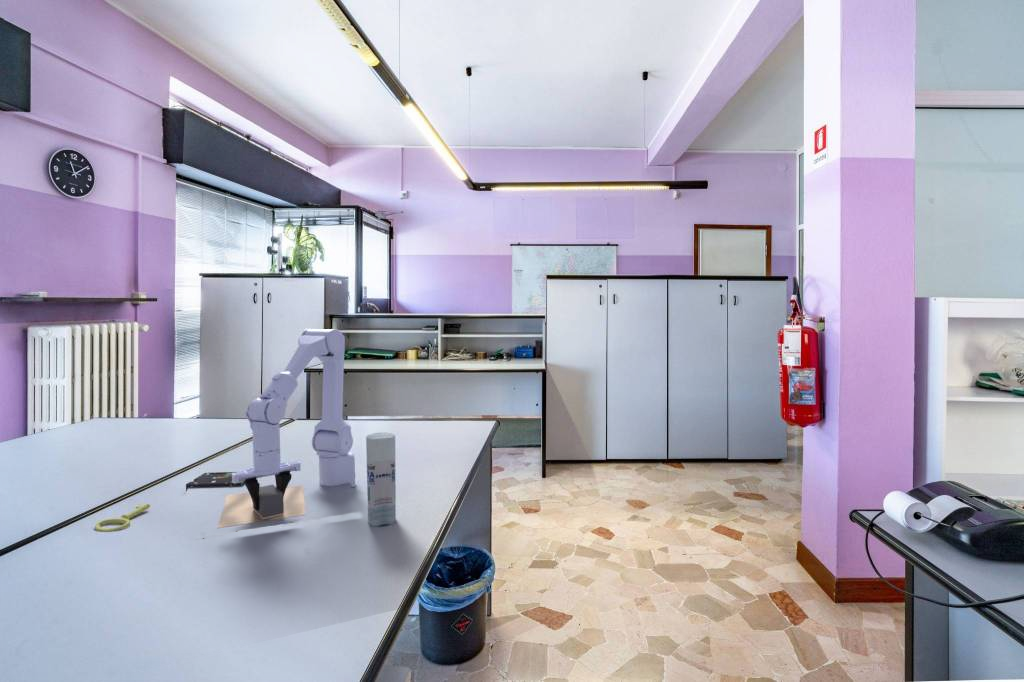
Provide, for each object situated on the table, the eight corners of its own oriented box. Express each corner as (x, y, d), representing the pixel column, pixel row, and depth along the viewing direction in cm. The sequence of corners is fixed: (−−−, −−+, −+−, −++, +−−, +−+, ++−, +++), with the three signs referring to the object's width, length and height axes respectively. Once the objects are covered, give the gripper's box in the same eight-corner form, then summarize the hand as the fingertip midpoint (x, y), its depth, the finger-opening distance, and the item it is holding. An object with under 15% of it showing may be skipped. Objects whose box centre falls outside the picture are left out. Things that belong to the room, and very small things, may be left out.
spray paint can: (365, 517, 120) (364, 433, 119) (393, 513, 123) (392, 431, 122) (369, 528, 114) (368, 440, 113) (398, 523, 117) (397, 437, 116)
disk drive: (185, 494, 137) (243, 492, 139) (184, 484, 137) (242, 482, 139) (204, 481, 148) (258, 479, 149) (204, 472, 147) (257, 470, 149)
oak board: (302, 489, 139) (302, 485, 139) (306, 519, 119) (306, 514, 119) (227, 499, 132) (226, 495, 132) (217, 533, 112) (217, 527, 112)
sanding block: (273, 504, 125) (272, 484, 124) (283, 514, 119) (283, 493, 118) (253, 509, 122) (252, 488, 121) (263, 519, 116) (262, 497, 115)
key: (151, 510, 125) (151, 502, 125) (124, 532, 113) (123, 522, 113) (118, 513, 124) (118, 504, 124) (87, 535, 112) (86, 525, 112)
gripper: (293, 440, 127) (294, 494, 128) (228, 451, 118) (229, 509, 118) (303, 446, 122) (304, 502, 123) (235, 457, 112) (237, 518, 113)
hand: (268, 506), depth 120 cm, fingers closed on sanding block, 4 cm apart
